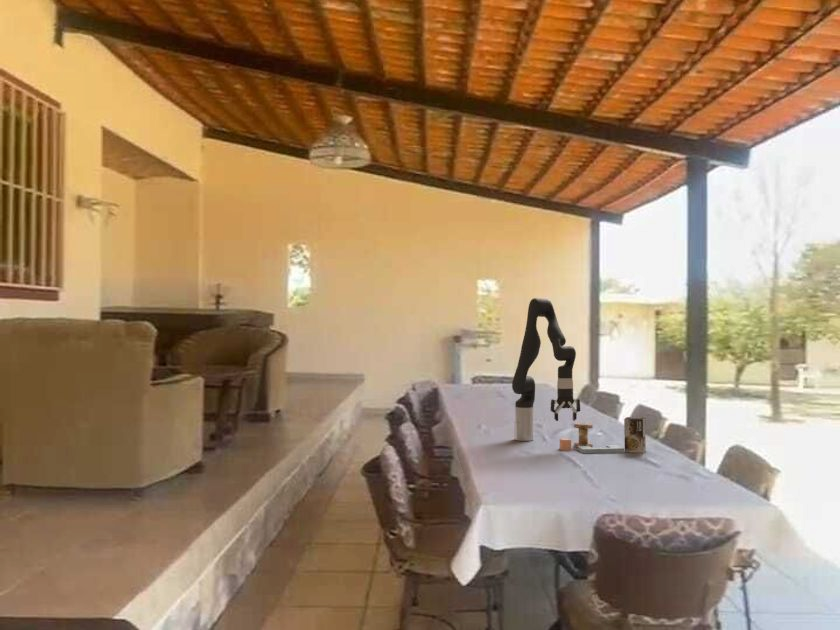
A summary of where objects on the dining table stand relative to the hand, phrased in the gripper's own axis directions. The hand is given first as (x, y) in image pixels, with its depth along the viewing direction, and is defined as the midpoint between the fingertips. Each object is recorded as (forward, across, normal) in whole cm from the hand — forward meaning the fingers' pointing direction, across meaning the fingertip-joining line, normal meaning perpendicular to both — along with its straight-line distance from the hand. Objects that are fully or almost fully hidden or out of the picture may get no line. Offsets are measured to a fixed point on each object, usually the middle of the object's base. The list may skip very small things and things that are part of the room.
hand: (565, 420), depth 424 cm
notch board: (+14, +15, -8) cm, 22 cm away
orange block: (+14, 0, 0) cm, 14 cm away
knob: (+14, +11, +7) cm, 19 cm away
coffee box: (+14, +31, -11) cm, 36 cm away
